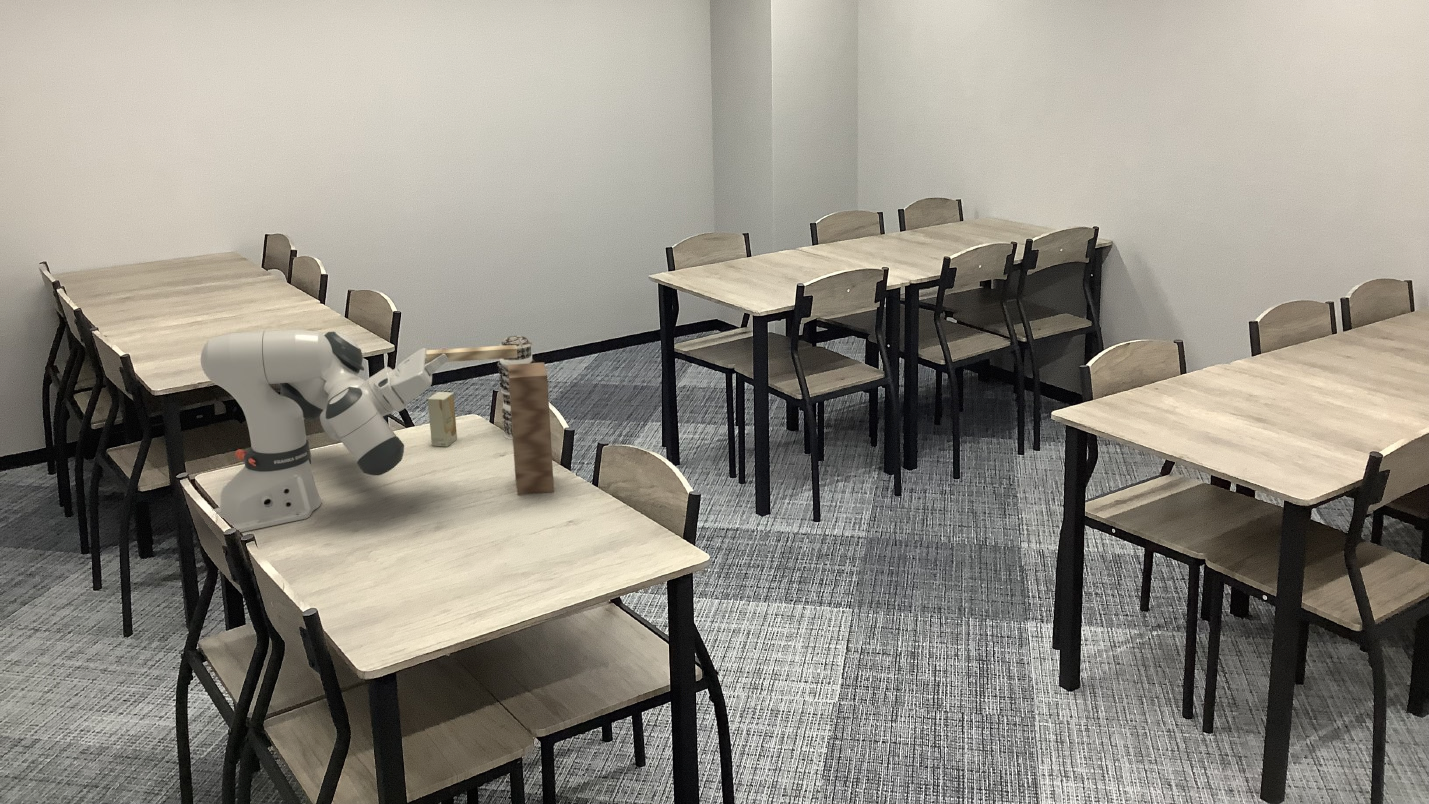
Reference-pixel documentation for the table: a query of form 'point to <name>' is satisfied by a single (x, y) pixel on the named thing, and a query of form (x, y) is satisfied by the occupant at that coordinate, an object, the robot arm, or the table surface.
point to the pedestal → (531, 428)
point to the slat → (474, 353)
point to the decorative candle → (523, 358)
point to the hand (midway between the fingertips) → (446, 353)
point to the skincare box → (442, 419)
